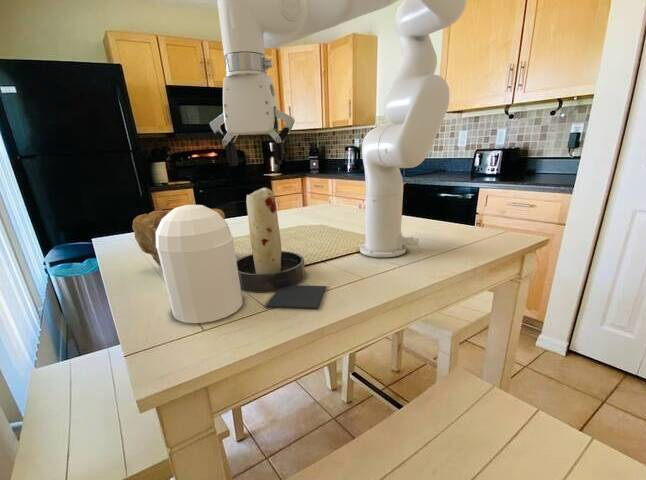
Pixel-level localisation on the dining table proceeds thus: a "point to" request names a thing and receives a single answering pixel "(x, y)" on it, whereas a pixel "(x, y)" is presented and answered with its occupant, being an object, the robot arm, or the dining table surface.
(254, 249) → the food model
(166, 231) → the container
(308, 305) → the mat
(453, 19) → the robot arm
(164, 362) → the dining table surface
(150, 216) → the rough brown rock
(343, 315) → the dining table surface
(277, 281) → the pan
